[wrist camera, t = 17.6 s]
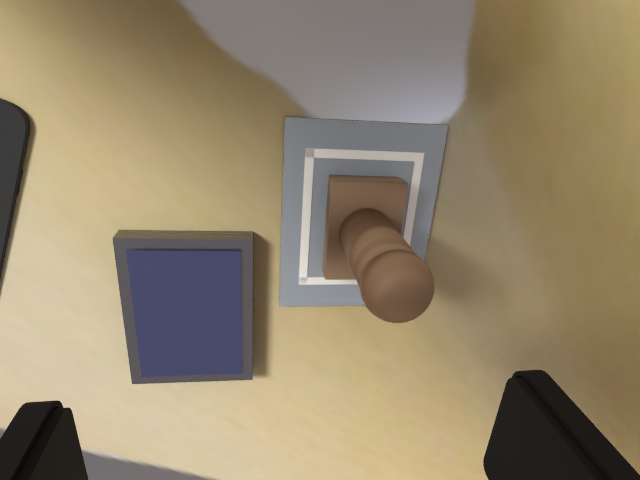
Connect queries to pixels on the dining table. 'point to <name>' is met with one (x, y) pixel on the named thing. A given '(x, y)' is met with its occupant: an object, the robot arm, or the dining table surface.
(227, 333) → the ink pad
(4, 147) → the phone
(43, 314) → the dining table surface
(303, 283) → the stamp card
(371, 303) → the stamp
